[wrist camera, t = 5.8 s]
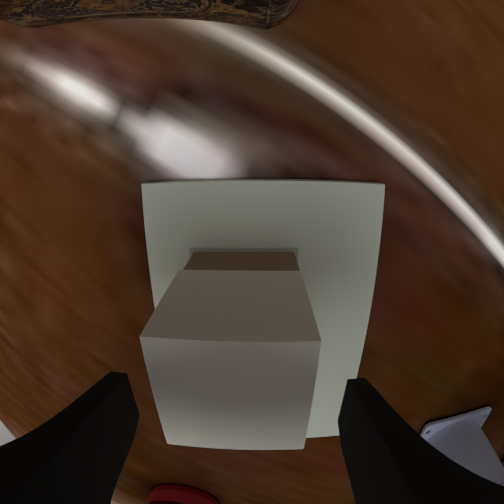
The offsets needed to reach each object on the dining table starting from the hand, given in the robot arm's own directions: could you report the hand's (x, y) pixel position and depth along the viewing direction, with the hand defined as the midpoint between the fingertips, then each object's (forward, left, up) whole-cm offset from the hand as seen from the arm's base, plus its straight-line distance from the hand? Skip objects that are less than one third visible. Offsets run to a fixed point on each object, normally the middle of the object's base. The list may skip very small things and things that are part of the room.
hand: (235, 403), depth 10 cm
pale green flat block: (-3, -1, -9) cm, 9 cm away
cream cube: (0, 0, -5) cm, 5 cm away
